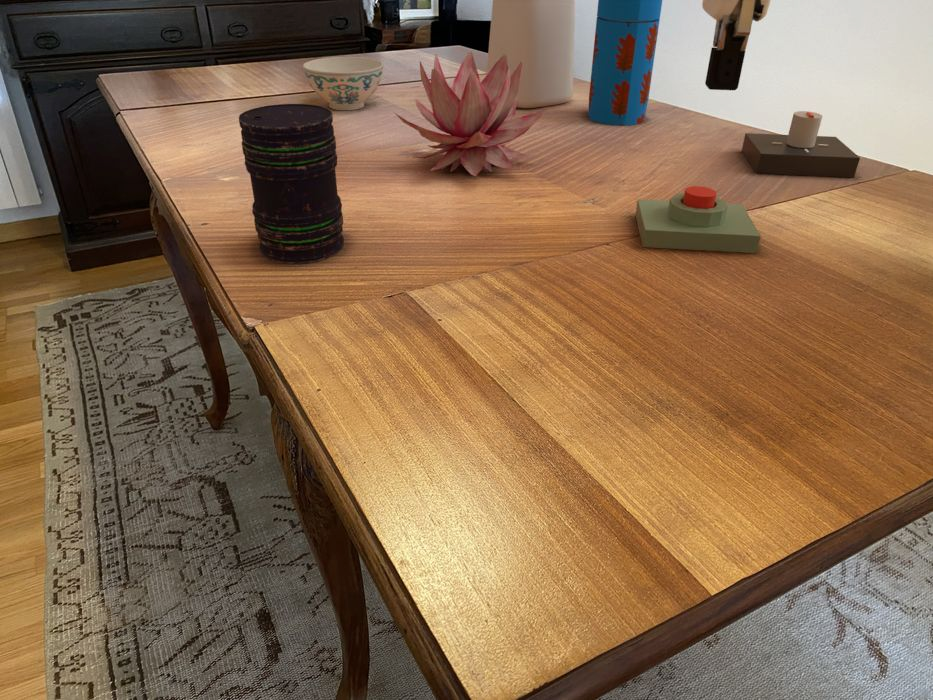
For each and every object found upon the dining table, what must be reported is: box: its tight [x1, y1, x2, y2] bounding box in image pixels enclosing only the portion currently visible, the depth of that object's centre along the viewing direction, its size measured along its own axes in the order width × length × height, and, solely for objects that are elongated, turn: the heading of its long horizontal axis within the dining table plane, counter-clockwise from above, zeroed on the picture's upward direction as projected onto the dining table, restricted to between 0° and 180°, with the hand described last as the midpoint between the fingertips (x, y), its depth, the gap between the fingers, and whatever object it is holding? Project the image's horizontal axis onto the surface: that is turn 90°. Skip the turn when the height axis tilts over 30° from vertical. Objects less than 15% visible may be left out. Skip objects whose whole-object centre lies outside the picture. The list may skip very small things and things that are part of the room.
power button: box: [683, 185, 717, 209], centre depth 84 cm, size 4×4×2 cm
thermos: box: [587, 0, 663, 126], centre depth 125 cm, size 11×11×25 cm
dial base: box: [741, 132, 861, 178], centre depth 109 cm, size 14×11×3 cm
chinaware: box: [302, 56, 384, 111], centre depth 136 cm, size 15×15×8 cm
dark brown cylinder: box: [238, 103, 345, 265], centre depth 78 cm, size 10×10×15 cm
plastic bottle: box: [485, 0, 576, 109], centre depth 136 cm, size 15×15×28 cm
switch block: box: [635, 192, 762, 254], centre depth 85 cm, size 13×10×4 cm
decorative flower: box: [394, 51, 547, 177], centre depth 103 cm, size 21×21×15 cm
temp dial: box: [786, 110, 823, 148], centre depth 107 cm, size 4×4×5 cm
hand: (720, 87), depth 77 cm, fingers closed
